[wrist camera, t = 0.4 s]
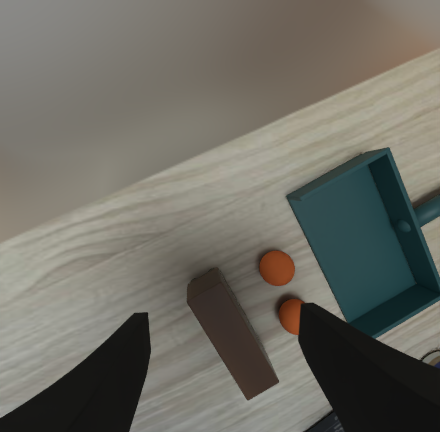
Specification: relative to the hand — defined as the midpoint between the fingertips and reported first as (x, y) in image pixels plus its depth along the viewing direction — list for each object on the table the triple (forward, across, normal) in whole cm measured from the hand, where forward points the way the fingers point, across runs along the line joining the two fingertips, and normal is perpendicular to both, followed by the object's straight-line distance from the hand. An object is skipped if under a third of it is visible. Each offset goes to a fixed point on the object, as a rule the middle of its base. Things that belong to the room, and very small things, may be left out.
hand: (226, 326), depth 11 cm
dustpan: (+11, -17, -2) cm, 20 cm away
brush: (+10, -1, +6) cm, 12 cm away
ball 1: (+9, -5, +1) cm, 11 cm away
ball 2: (+9, -7, +6) cm, 13 cm away
